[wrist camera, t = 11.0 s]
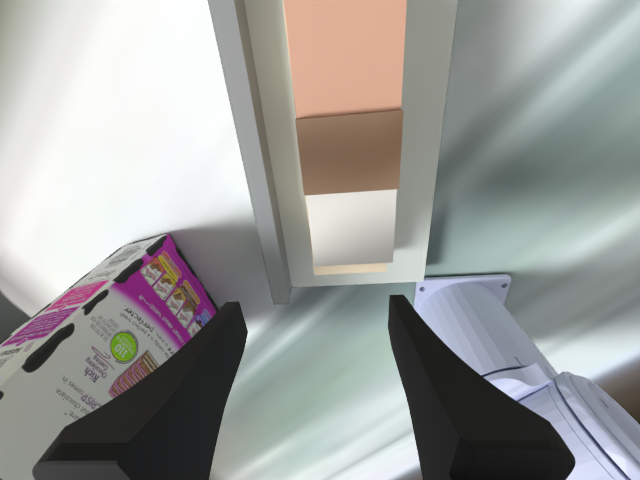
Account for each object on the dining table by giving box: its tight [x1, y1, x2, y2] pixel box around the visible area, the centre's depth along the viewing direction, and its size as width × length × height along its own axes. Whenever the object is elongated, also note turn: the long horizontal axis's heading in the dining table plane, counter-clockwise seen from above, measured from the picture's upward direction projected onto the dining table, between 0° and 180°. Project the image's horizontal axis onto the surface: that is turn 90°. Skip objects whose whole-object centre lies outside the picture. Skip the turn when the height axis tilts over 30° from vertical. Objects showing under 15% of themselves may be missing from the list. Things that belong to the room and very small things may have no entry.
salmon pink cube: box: [284, 0, 407, 118], centre depth 11 cm, size 4×4×4 cm
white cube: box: [306, 189, 397, 267], centre depth 15 cm, size 4×4×4 cm
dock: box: [208, 0, 458, 304], centre depth 17 cm, size 24×12×4 cm, turn 5°
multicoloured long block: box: [282, 0, 404, 275], centre depth 14 cm, size 18×5×7 cm, turn 5°
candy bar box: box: [0, 233, 218, 480], centre depth 19 cm, size 11×5×16 cm, turn 18°
